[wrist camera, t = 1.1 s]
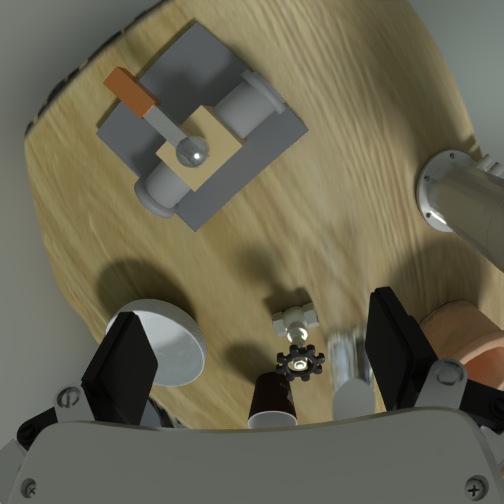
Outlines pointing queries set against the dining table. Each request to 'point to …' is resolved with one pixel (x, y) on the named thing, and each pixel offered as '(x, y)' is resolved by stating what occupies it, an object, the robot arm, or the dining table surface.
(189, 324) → the cereal bowl
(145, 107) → the valve lever
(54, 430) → the robot arm
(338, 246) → the dining table surface
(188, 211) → the valve board
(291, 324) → the valve
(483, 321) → the pottery
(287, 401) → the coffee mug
